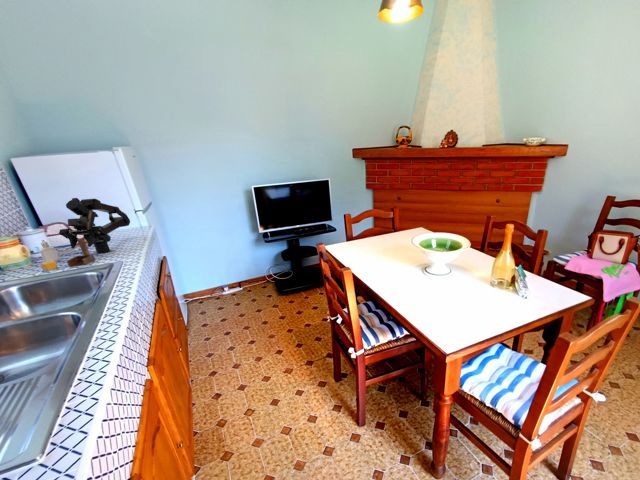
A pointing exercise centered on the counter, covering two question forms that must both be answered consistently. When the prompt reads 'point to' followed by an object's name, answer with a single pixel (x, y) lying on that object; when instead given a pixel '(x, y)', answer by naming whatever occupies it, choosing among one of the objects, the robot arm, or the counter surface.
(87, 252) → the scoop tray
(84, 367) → the counter surface
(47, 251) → the eye dropper bottle
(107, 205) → the robot arm
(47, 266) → the block
